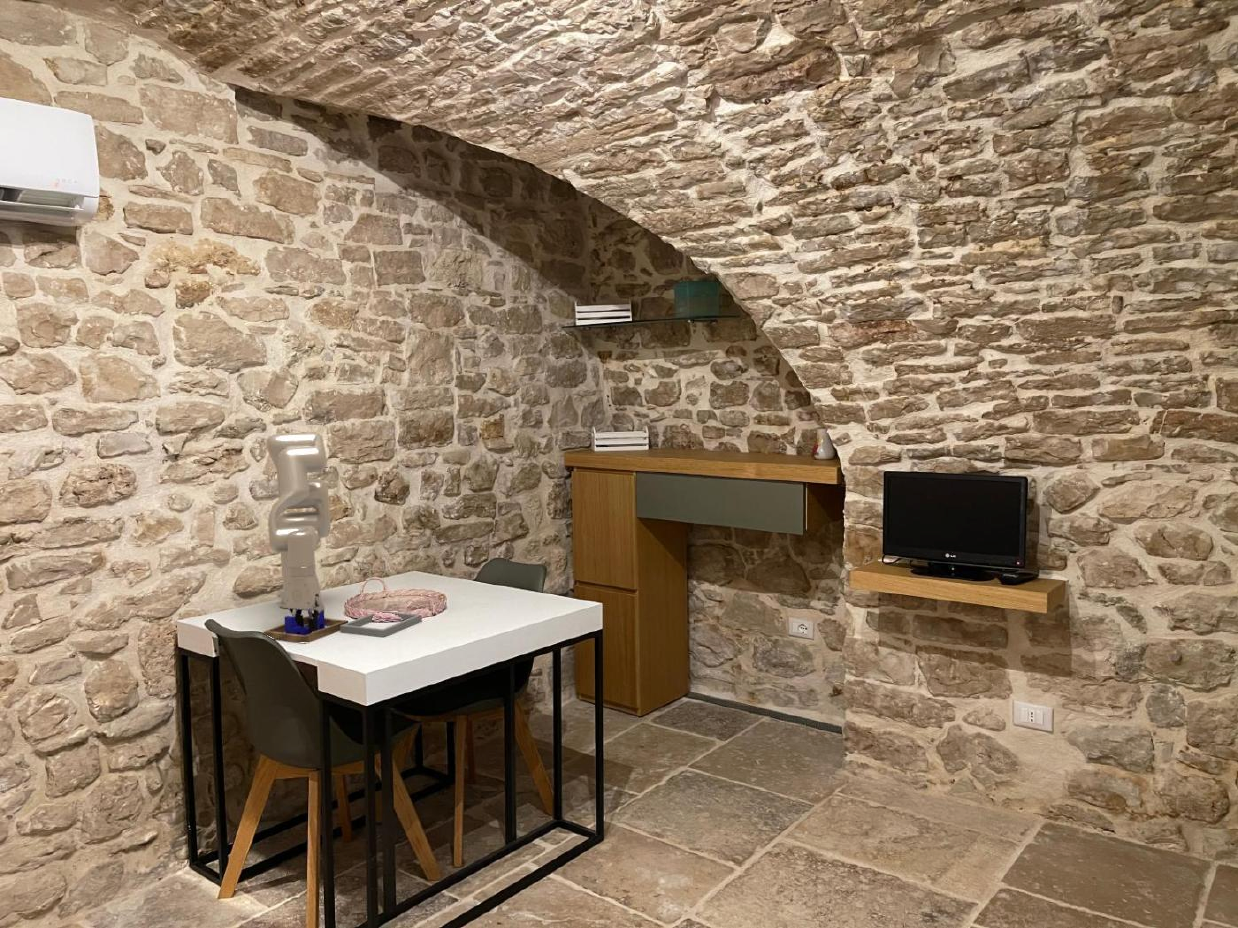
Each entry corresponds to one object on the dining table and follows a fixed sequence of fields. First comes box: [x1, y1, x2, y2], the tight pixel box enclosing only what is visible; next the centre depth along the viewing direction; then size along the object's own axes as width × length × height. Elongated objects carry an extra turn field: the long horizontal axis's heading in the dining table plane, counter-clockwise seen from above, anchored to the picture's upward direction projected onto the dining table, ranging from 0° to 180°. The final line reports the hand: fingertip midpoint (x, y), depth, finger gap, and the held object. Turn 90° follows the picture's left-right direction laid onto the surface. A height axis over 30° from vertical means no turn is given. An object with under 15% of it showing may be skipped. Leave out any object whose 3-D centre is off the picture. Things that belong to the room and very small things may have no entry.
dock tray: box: [340, 610, 423, 638], centre depth 293 cm, size 16×18×2 cm
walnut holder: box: [262, 615, 349, 643], centre depth 289 cm, size 16×18×2 cm
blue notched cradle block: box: [283, 609, 326, 635], centre depth 289 cm, size 12×4×6 cm, turn 144°
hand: (306, 629), depth 289 cm, fingers closed on blue notched cradle block, 4 cm apart
